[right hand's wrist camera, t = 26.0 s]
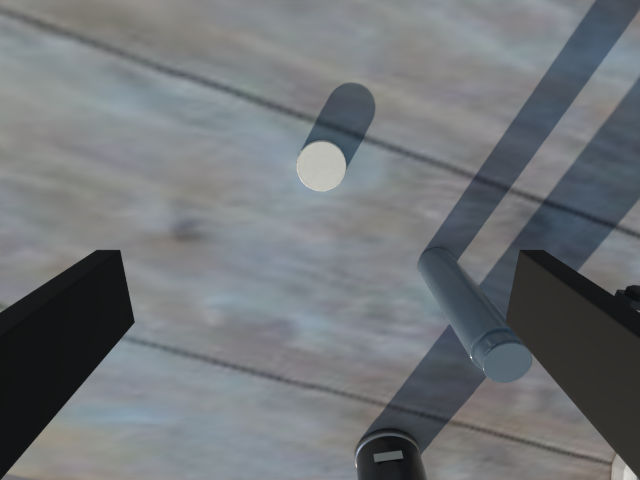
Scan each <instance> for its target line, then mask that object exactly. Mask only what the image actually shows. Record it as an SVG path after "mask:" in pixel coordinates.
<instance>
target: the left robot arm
mask: <svg viewBox="0 0 640 480" xmlns="http://www.w3.org/2000/svg"><path fill="white" fill-rule="evenodd" d="M615 297H616V298H618V299H619V300H621V301H622V302H624V303H626V304H627V305H629V306H630V307H632V308H633V309H635V310H640V286H637V285H632V286H628V287H627V288H626V290H617V291H616V294H615ZM355 462H356V467H357V474H358V480H427V477H426V473H425V470H424V466H423V463H422V459H421V453H420V450H419V446H418V444H417V442H416V441H415V439H414V438H413V437H411V436H410V435H408V434H407V433H405V432H402V431H398V430H380V431H376V432H373V433H371V434H369V435H367V436H366V437H364V438H363V439H362V440H361V441H360V442H359V444H358V445H357V447H356V450H355Z"/></svg>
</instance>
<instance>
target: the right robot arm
mask: <svg viewBox="0 0 640 480" xmlns="http://www.w3.org/2000/svg"><path fill="white" fill-rule="evenodd" d="M134 323H135V321H134V316H133V311H132V306H131V301H130V297H129V292H128V287H127V282H126V277H125V272H124V267H123V262H122V257H121V252H120V250H96V251H94V252H93V253H91V254H90V255H88V256H87V257H85V258H84V259H82V260H81V261H79V262H78V263H76V264H74V265H73V266H71V267H70V268H68V269H67V270H65V271H64V272H62V273H61V274H59V275H58V276H56V277H54V278H53V279H51V280H50V281H48V282H47V283H45V284H44V285H42V286H41V287H39V288H38V289H36V290H34V291H33V292H31V293H30V294H28V295H27V296H25V297H24V298H22V299H21V300H19V301H18V302H16V303H14V304H13V305H11V306H10V307H8V308H7V309H5V310H4V311H2V312H1V313H0V480H1V479H2V477H3V476H4V475H5V474H6V473H7V472H8V470H9V469H10V468H11V467H12V466H13V465H14V463H15V462H16V461H17V460H18V459H19V458H20V456H21V455H22V454H23V453H24V452H25V450H26V449H27V448H28V447H29V446H30V445H31V443H32V442H33V441H34V440H35V439H36V438H37V436H38V435H39V434H40V433H41V432H42V431H43V429H44V428H45V427H46V426H47V425H48V424H49V422H50V421H51V420H52V419H53V418H54V416H55V415H56V414H57V413H58V412H59V411H60V409H61V408H62V407H63V406H64V405H65V404H66V402H67V401H68V400H69V399H70V398H71V397H72V395H73V394H74V393H75V392H76V391H77V389H78V388H79V387H80V386H81V385H82V384H83V382H84V381H85V380H86V379H87V378H88V377H89V375H90V374H91V373H92V372H93V371H94V370H95V368H96V367H97V366H98V365H99V364H100V362H101V361H102V360H103V359H104V358H105V357H106V355H107V354H108V353H109V352H110V351H111V350H112V348H113V347H114V346H115V345H116V344H117V343H118V341H119V340H120V339H121V338H122V337H123V335H124V334H125V333H126V332H127V331H128V330H129V328H130V327H131V326H132V325H133V324H134ZM505 323H506V324H507V325H508V326H509V327H510V328H511V330H512V331H513V332H514V333H515V334H516V335H517V337H518V338H519V339H520V340H521V341H522V343H523V344H524V345H525V346H526V347H527V348H528V350H529V351H530V352H531V353H532V354H533V355H534V357H535V358H536V359H537V360H538V361H539V362H540V364H541V365H542V366H543V367H544V368H545V370H546V371H547V372H548V373H549V374H550V375H551V377H552V378H553V379H554V380H555V381H556V382H557V384H558V385H559V386H560V387H561V388H562V389H563V391H564V392H565V393H566V394H567V395H568V397H569V398H570V399H571V400H572V401H573V402H574V404H575V405H576V406H577V407H578V408H579V409H580V411H581V412H582V413H583V414H584V415H585V416H586V418H587V419H588V420H589V421H590V422H591V424H592V425H593V426H594V427H595V428H596V429H597V431H598V432H599V433H600V434H601V435H602V436H603V438H604V439H605V440H606V441H607V442H608V443H609V445H610V446H611V447H612V448H613V449H614V450H615V452H616V453H617V454H618V455H619V456H620V458H621V459H622V460H623V461H624V462H625V463H626V465H627V466H628V467H629V468H630V469H631V470H632V472H633V473H634V474H635V475H636V476H637V477H638V479H639V480H640V313H639V312H638V311H636V310H635V309H633V308H632V307H630V306H629V305H627V304H626V303H624V302H622V301H621V300H619V299H618V298H616V297H615V296H613V295H612V294H610V293H609V292H607V291H606V290H604V289H602V288H601V287H599V286H598V285H596V284H595V283H593V282H592V281H590V280H589V279H587V278H586V277H584V276H582V275H581V274H579V273H578V272H576V271H575V270H573V269H572V268H570V267H569V266H567V265H566V264H564V263H562V262H561V261H559V260H558V259H556V258H555V257H553V256H552V255H550V254H549V253H547V252H546V251H544V250H520V252H519V257H518V262H517V267H516V272H515V277H514V282H513V287H512V292H511V297H510V301H509V306H508V311H507V316H506V321H505Z"/></svg>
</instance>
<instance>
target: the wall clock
mask: <svg viewBox="0 0 640 480" xmlns="http://www.w3.org/2000/svg"><path fill="white" fill-rule="evenodd" d="M611 480H639V479H638V477H637V476H636V475H635V474H634V473H633V472H632V470H631V469H630V468H629V467H628V466H627V465H626V463H625V462H624V461H623V460H622V459H621V458H620V456H619V455H618V454H616V456H615V459H614V461H613V464H612V477H611Z"/></svg>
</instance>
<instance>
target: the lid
mask: <svg viewBox="0 0 640 480" xmlns="http://www.w3.org/2000/svg"><path fill="white" fill-rule="evenodd" d="M346 167H347V165H346V158H345V157H344V153H343V152H342V151H341V150H340V147H338V146H337V145H336V144H335V143H332V142H330V141H327V140H324V139H323V140H316V141H313V142H310V143H309V144H308V145H305V147H304V148H303V150H301V153H300V155H298V161H297V171H298V176H299V177H300V179H301V181H302V182H303V183H304V184H305V185H306V186H307V187H309V188H311V189H313V190H317V191H326V190H330V189H332V188H334V187H336V186H337V185H338V184H339V183H340V182H341V181H342V179H343V177H344V175H345V173H346Z"/></svg>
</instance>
